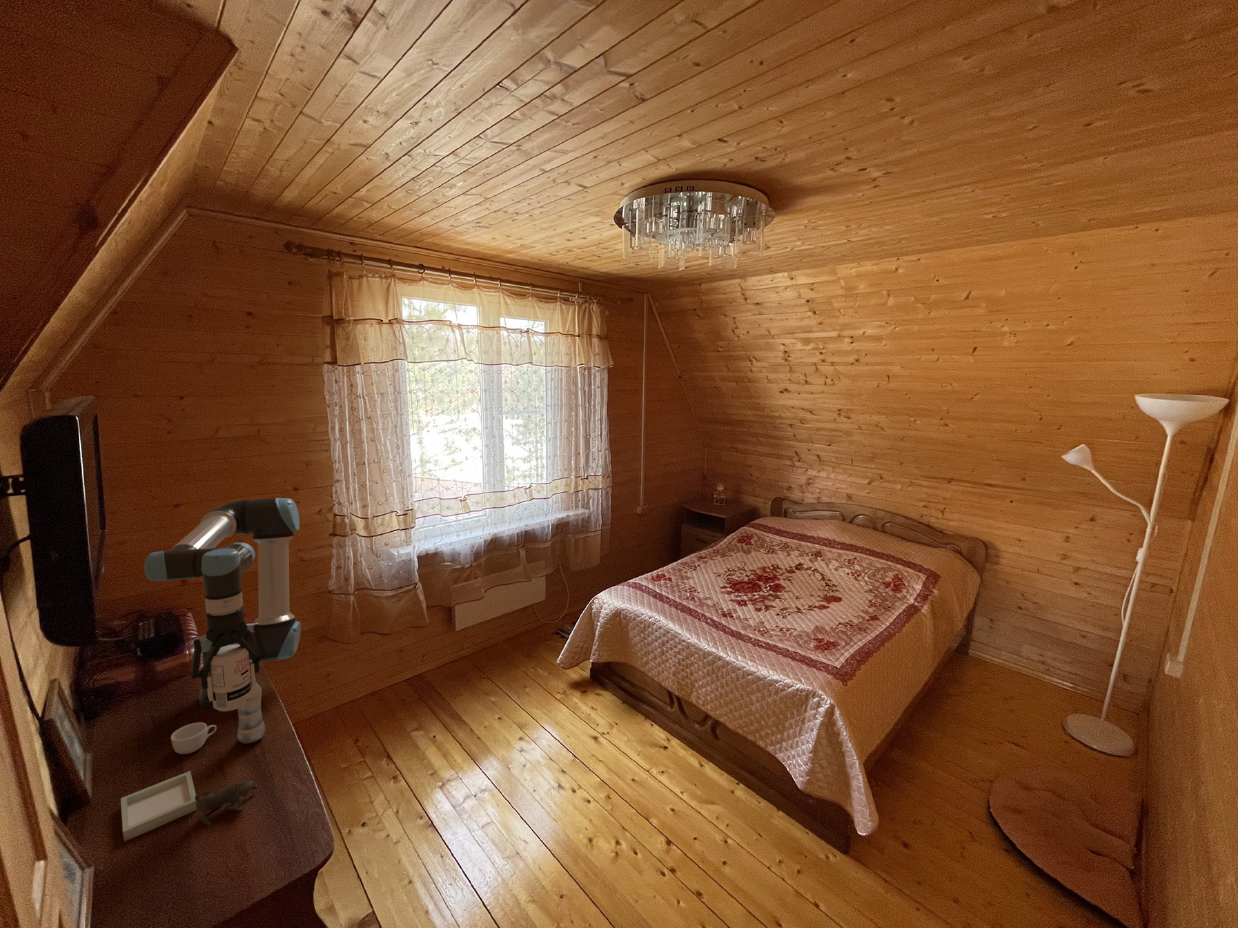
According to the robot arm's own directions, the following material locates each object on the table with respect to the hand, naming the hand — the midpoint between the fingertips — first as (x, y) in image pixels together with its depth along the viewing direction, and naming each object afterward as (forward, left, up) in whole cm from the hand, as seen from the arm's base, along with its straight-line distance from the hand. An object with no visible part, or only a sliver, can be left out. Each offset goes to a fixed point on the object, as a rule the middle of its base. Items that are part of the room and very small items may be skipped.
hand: (232, 691), depth 133 cm
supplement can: (0, 0, -4) cm, 4 cm away
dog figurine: (+14, -4, -23) cm, 27 cm away
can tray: (+2, -16, -23) cm, 28 cm away
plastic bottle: (-12, +5, -23) cm, 27 cm away
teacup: (-19, -7, -23) cm, 31 cm away
